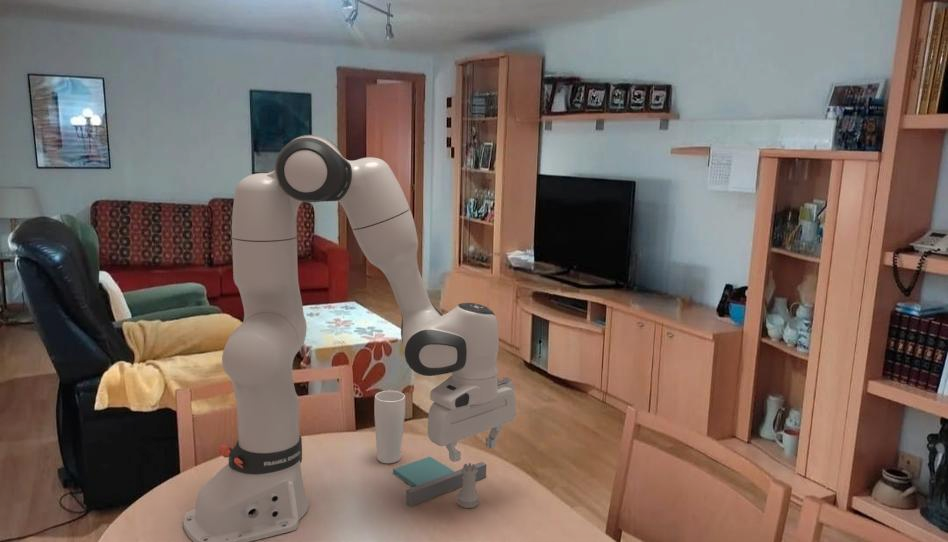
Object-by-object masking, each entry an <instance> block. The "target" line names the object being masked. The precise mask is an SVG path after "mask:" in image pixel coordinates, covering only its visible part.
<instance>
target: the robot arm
mask: <svg viewBox="0 0 948 542" xmlns="http://www.w3.org/2000/svg"><path fill="white" fill-rule="evenodd" d="M233 197H234V198H233V205H232V214H231V215H232V216H231V243H232V245H231V247H232V272H233V273H232V275H233V276H232V277H233V282H234V284H235V286H236V287H237V289H238V292H239V294H240V295H239V296H240V299H241V303H242V306H243V313H244V314H243V322H242V323H241V324H240V325H239V326H238V327H236V328H235V329H234V330H233V331H232V332H231V334H230V335H229V337H228V339H227V341H226V343H225V346H224V349H223V352H222V356H221V357H222V358H221V362H222V363H221V364H222V367H223V370H224V372H225V374H226V375H227V376H228V377H229V379H230V380H231V384H232V387H233V388H232V389H233V391H234V395H235V400H236V408H237V411H236V413H237V435H238V436H237V438H238V439H237V441H236V443H235V445H234V447H233V448H232V447H230V445H228V444H227V443H223V444H221V445H220V447H218V453H219V454H220V455H221V456H222V457H223V458H228V463H226V465H225V466H224V467H223V468H222V469H220V470H219V471H218V472H216V474H215V475H214V476H213V477H212V478H210V480H208V481H207V482H206V483H205V484H203V486H201V488H200V490H199V492H198V494H197V499H196V505H195V508H192V509H191V510H188V511H186V512H185V513H184V515H183V521H182V524H183V525H182V526H183V530H184V532H185V534H186V535H187V537H188V538H189V539H190V540H191V541H192V542H254V541H257V540H261V539H262V540H263V539H266V538H269V537H273V536H277V535H281V534H282V535H283V534H285V533H290V532H294V531H295V530H297V529H298V527H299V523H300V520H301V519H302V518H303V517H304V516H305V515H306V513H307V512H308V510H309V505H310V504H309V500H308V498H307V495H306V494H307V493H306V491H305V487H304V481H303V475H302V467H301V466H302V465H301V464H302V461H303V441H302V440H303V439H302V436H301V434H300V398H299V396H298V394H297V392H296V388H295V383H294V379H293V365H294V360H295V357H296V355H298V352H299V351H300V350H301V348H302V347H303V345H304V343H305V340H306V336H307V328H308V327H307V321H306V317H305V315H304V314H305V313H304V308H303V307H304V306H303V301H302V296H301V290H300V283H299V272H298V271H299V270H298V234H297V233H298V230H297V227H298V226H297V225H298V224H297V222H298V221H297V217H298V210H299V207H300V205H301V204H302V203H303V202H305V203H321V202H322V203H323V202H338V203H339V204H340V205H341V207H342V208H343V211H344V213H345V214H346V217H347V219H348V222H349V225H350V227H351V230H352V232H353V235H354V237H355V239H356V242H357V243H358V246H359V248H360V249H361V251H362V253H363V254H364V256H365V258H366V259H367V260H368V262H369V263H370V264H371V265H373V266H375V267H376V268H378V269H379V270H380V271H381V272H382V273H383V274H384V275H385V277H386V279H387V281H388V282H389V285H390V288H391V290H392V292H393V294H394V298H395V301H396V303H397V305H398V307H399V310H400V314H401V325H400V338H401V342H402V344H403V353H404V358H405V359H404V360H405V362H406V363H407V365H408V367H409V368H410V369H411V370H412V371H413V372H415V373H416V374H418V375H421V376H423V377H424V376H426V377H434V376H441V375H446V374H450V373H451V375H450V376H448V378H446V379H445V380H444V381H442V382H441V383H440V384H439V385H436V386H435V387H434V388H433V389H432V390H430V394H429V397H430V400H431V402H433V403H432V404H431V406H430V407H429V410H428V417H427V437H428V439H429V441H430V442H431V443H433V444H435V445H437V446H439V447H446V449H447V451H448V458H449V461H451V462H453V463H455V462H458V461H460V460H461V459H462V458H461V455H462V454H461V453H462V452H461V451H459V450H458V449H456V447H457V445H458V442H459V441H462V440H465V439H467V438H470V437H473V436H476V435H478V434H481V433H484V432H487V431H489V430H490V431H489V433H488V436H487V437H485V444H484V445H485V446H486V447H487V448H489V449H492V448H495V447H497V445H498V444H497V443H498V438H499V436H500V433H501V432H502V426H503V425H506V424H509V423H512V422H514V420H515V418H516V416H517V402H516V401H517V400H516V394H515V391H514V390H515V389H514V388H515V383H514V381H513V380H512V379H511V378H509V377H508V376H504V377H502V378H499V376H498V375H499V368H498V365H497V357H498V355H499V350H500V349H499V344H500V343H499V341H500V340H499V323H498V318H497V316H496V314H495V313H494V312H493V310H492V309H491V308H489V307H488V306H485V305H482V304H479V303H473V302H461V303H458V304H457V305H456V306H455V307H454V308H453V309H451V310H450V311H448V312H447V313H445V314H443V313H442V312H441V311H440V310H439V309H438V308H436V306H435V305H434V304H433V303H432V301H431V299H430V296H429V293H428V291H427V288H426V286H425V285H426V284H425V283H424V280H423V277H422V275H421V272H420V270H419V265H418V250H419V238H418V233H417V228H416V224H415V220H414V217H413V216H414V215H413V214H412V211H411V207H410V205H409V202H408V200H407V198H406V196H405V193H404V190H403V189H402V187H401V185H400V183H399V181H398V179H397V177H396V176H395V173H394V172H393V170H392V169H391V167H390V165H389V164H388V163H387V162H386V161H385V160H383V159H381V158H377V157H372V156H371V157H370V156H369V157H361V158H358V159H355V160H349V159H346V158H345V157H344V156H343V154H342V153H341V150H340V149H339V147H338V146H337V145H336V144H335V143H334V142H332V141H331V140H329V139H328V138H327V137H326V138H325V137H323V136H320V135H314V134H306V135H300V136H298V137H296V138H294V139H292V140H290V141H289V142H288V143H287V144H285V145H284V146H283V147H282V148H281V150H280V151H279V153H278V154H277V157H276V159H275V164H274V170H273V171H270V172H259V173H258V172H257V173H254V174H253V173H252V174H250V175H246V176H245V177H243V178H242V179H241V180H240V181H239V182H238V184H237V185H236V187H235V191H234V196H233Z"/></svg>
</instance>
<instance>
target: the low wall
mask: <svg viewBox="0 0 948 542" xmlns="http://www.w3.org/2000/svg"><path fill="white" fill-rule="evenodd" d="M473 464H474V465H475V466H476V469H477V470H478V472H477V473H476V474H475V477H476V480H475V482H477V481H480V480H482V479H485V478H487V466H488V465H487V463H485V462H484V461H479V462H477V463H473ZM461 470H462V468H461V469H457V470H454V471H455V472H453V473H450V474H447V475H445V476H442V477H439V478H436V479H434V480H431V481H428V482H426V483H423V484H420V485H418V486H415V487H412V486H411V487H410V488H407V489H406V490H405V491H406V492H405V504H406V505H407V506H409V507H414V506H416V505H418V504H422V503H423V502H426V501H428V500H429V501H430V500H431V499H434V498H436V497H439V496H441V495H445V494H446V493H449V492H451V491H454V490H457V489H460V488H462V484H463V479H462V476H463V473H462V471H461Z"/></svg>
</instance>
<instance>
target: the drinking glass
mask: <svg viewBox="0 0 948 542" xmlns="http://www.w3.org/2000/svg"><path fill="white" fill-rule="evenodd" d="M373 405H374V406H373V407H374V409H373V411H374V414H373V415H374V429H375V443H376V444H375V445H376V459H377V460H378V462H380V463H383V464H395V463H397V462H398V461H400V459H401V457H402V444H403V442H402V441H403V436H404V435H403V434H404V426H405V416H406V395H405V393H403V392H401V391H397V390H382V391H379V392H377V393H376V394H375V395H374V404H373Z"/></svg>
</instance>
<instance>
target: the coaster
mask: <svg viewBox="0 0 948 542" xmlns="http://www.w3.org/2000/svg"><path fill="white" fill-rule="evenodd" d="M455 471H456V470H453V469H452V468H450V467H449V466H447V465H445V464H443V463H442V462H440V461H439V460H436V459H435V458H434V457H432V456H427V457H424V458H421V459H418V460H415V461H412V462H409V463H406V464H403V465H401V466H397V467H395V468H392V474H393V475H395V476H396V477H397V478H399V479H401V480H402V481H403V482H405V483H406V484H408V485H409V486H411V488H412V487H415V486H418V485H420V484H423V483H426V482H428V481H431V480H434V479H436V478H439V477H442V476H445V475H447V474H450V473H453V472H455Z"/></svg>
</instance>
